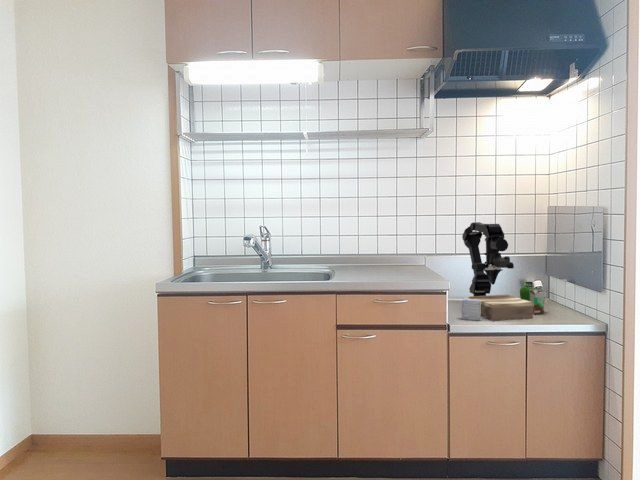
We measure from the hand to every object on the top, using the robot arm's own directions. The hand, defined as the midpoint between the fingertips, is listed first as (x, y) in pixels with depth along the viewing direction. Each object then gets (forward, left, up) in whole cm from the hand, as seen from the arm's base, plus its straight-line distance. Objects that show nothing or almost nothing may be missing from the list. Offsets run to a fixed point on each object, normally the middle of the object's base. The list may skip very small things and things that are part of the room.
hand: (493, 284), depth 240 cm
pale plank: (+9, 0, -7) cm, 12 cm away
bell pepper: (-13, +28, -13) cm, 33 cm away
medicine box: (+10, -17, -13) cm, 24 cm away
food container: (+6, +20, -13) cm, 25 cm away
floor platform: (+6, 0, -13) cm, 14 cm away
